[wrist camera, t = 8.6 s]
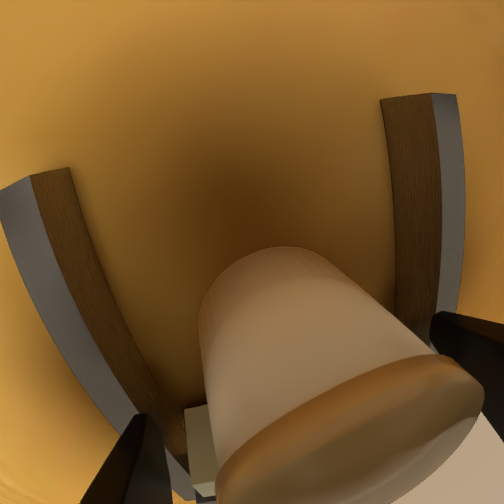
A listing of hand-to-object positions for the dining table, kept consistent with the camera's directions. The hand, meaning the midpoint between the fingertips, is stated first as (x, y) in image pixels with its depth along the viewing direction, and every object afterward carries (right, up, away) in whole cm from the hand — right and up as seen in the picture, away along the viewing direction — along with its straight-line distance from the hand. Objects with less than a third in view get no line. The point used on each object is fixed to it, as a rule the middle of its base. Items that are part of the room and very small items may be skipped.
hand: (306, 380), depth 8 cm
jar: (-1, +1, +3) cm, 3 cm away
